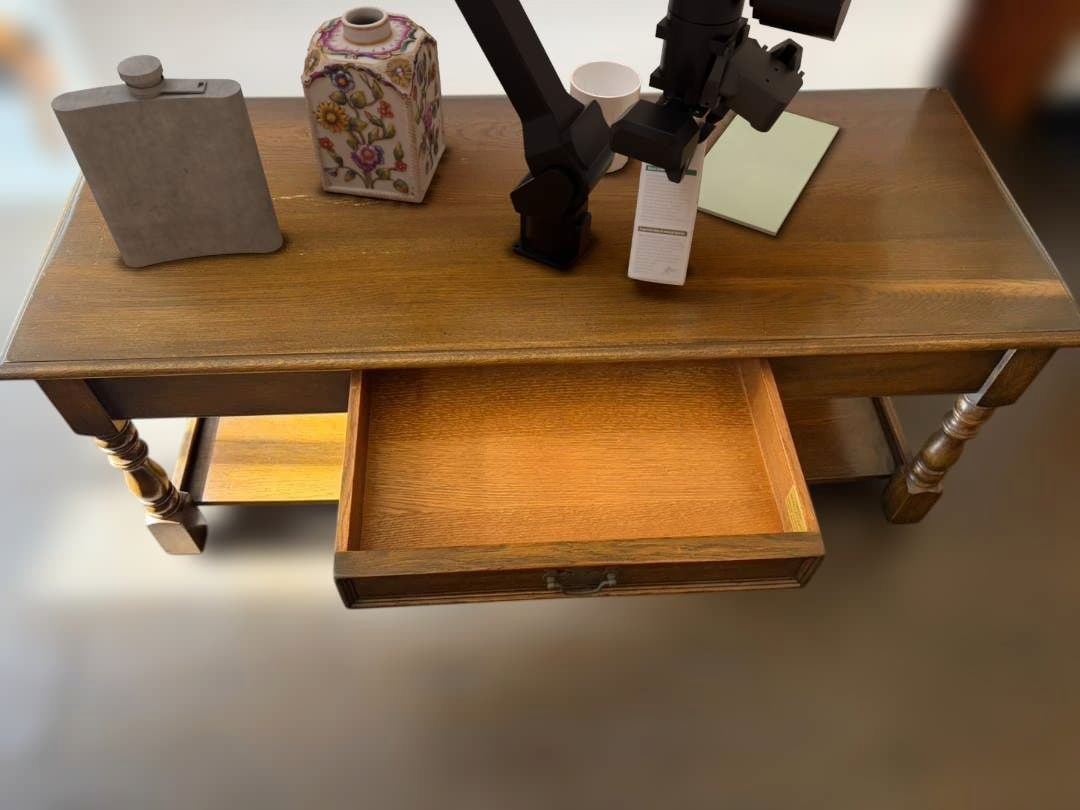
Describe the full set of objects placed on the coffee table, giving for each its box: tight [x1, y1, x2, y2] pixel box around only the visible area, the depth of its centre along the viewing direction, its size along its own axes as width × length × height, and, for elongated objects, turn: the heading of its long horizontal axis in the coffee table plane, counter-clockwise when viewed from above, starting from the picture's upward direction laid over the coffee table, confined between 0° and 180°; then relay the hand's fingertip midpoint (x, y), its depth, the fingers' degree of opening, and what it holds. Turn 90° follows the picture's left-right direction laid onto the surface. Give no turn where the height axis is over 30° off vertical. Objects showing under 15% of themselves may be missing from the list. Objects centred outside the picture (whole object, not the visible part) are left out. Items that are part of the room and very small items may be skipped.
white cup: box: [569, 59, 643, 174], centre depth 95 cm, size 8×8×10 cm
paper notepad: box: [697, 110, 840, 237], centre depth 98 cm, size 12×24×1 cm, turn 151°
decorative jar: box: [300, 5, 446, 204], centre depth 89 cm, size 12×12×18 cm
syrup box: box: [627, 138, 708, 286], centre depth 81 cm, size 6×6×14 cm
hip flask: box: [50, 54, 284, 268], centre depth 79 cm, size 16×4×20 cm, turn 102°
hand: (675, 180), depth 76 cm, fingers closed
